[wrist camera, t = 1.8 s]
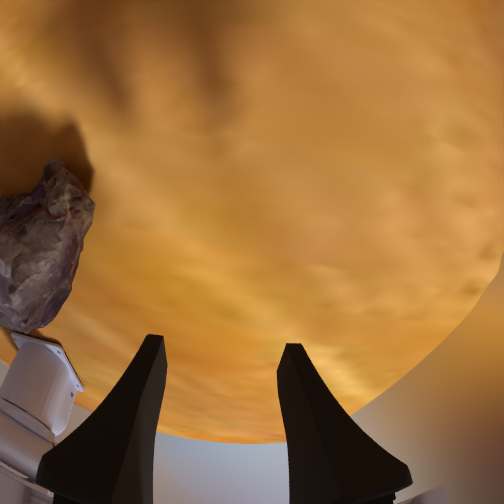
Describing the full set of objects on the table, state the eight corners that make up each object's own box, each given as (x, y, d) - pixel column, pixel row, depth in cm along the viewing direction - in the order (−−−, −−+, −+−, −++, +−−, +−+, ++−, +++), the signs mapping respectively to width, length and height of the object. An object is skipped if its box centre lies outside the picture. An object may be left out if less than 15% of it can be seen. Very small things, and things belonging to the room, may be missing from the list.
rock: (-1, 174, 16) (34, 275, 21) (-74, 221, 9) (-19, 335, 14) (96, 146, 15) (131, 283, 20) (-12, 201, 7) (74, 374, 12)
